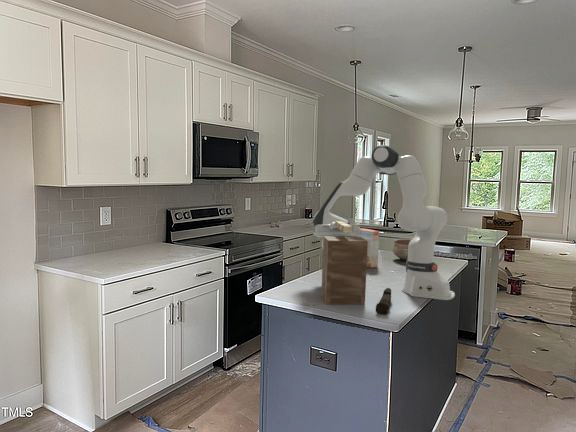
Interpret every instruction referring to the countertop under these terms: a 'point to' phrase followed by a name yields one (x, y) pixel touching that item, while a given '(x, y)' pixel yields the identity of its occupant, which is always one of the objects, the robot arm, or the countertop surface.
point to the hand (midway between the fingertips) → (340, 224)
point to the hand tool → (384, 302)
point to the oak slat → (343, 226)
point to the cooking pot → (401, 248)
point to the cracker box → (371, 246)
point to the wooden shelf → (344, 269)
